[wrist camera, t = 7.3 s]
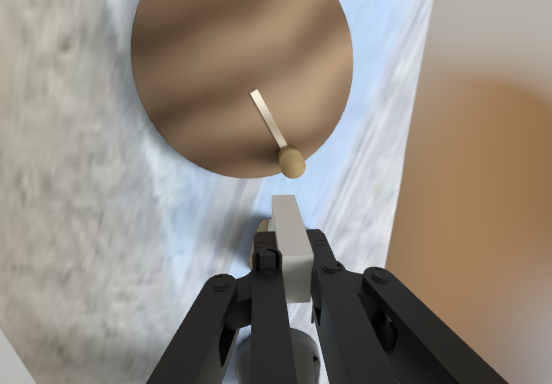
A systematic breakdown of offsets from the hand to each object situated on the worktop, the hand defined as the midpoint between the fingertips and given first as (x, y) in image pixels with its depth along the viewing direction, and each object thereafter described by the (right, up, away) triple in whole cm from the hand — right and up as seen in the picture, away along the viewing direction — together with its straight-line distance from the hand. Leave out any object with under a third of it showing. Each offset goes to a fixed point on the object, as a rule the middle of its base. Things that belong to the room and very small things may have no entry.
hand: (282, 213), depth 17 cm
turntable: (-4, +13, +9) cm, 16 cm away
